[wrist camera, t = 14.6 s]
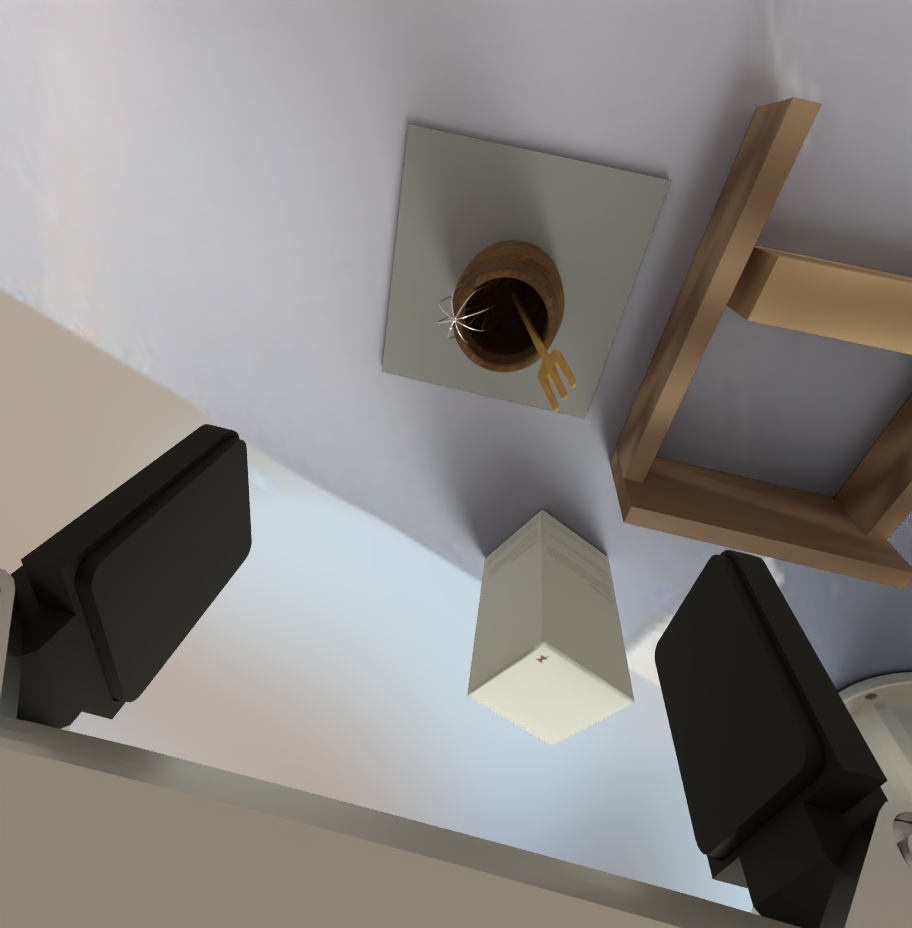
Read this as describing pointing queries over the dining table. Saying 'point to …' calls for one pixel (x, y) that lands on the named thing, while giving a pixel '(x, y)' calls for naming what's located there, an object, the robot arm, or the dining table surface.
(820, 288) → the oak offcut block
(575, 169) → the slate mat
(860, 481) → the walnut u-shaped frame
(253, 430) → the dining table surface
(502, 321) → the utensil holder
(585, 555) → the supplement box
